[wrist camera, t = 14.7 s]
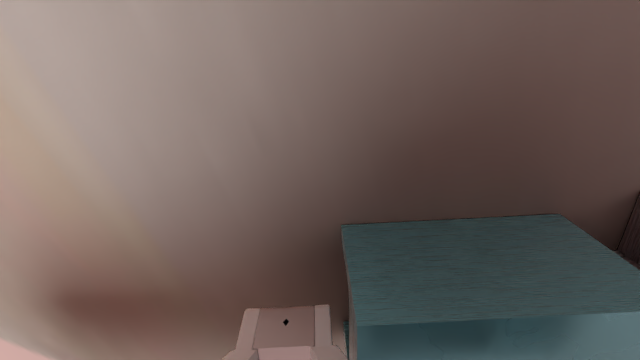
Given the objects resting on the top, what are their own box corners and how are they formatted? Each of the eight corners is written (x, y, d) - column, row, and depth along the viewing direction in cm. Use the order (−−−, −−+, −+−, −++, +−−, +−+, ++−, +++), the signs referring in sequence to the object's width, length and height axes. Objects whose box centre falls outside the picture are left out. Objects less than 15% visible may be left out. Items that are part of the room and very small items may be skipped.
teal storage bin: (343, 333, 14) (356, 457, 10) (341, 224, 12) (357, 326, 8) (527, 323, 14) (617, 443, 10) (559, 213, 12) (694, 309, 8)
